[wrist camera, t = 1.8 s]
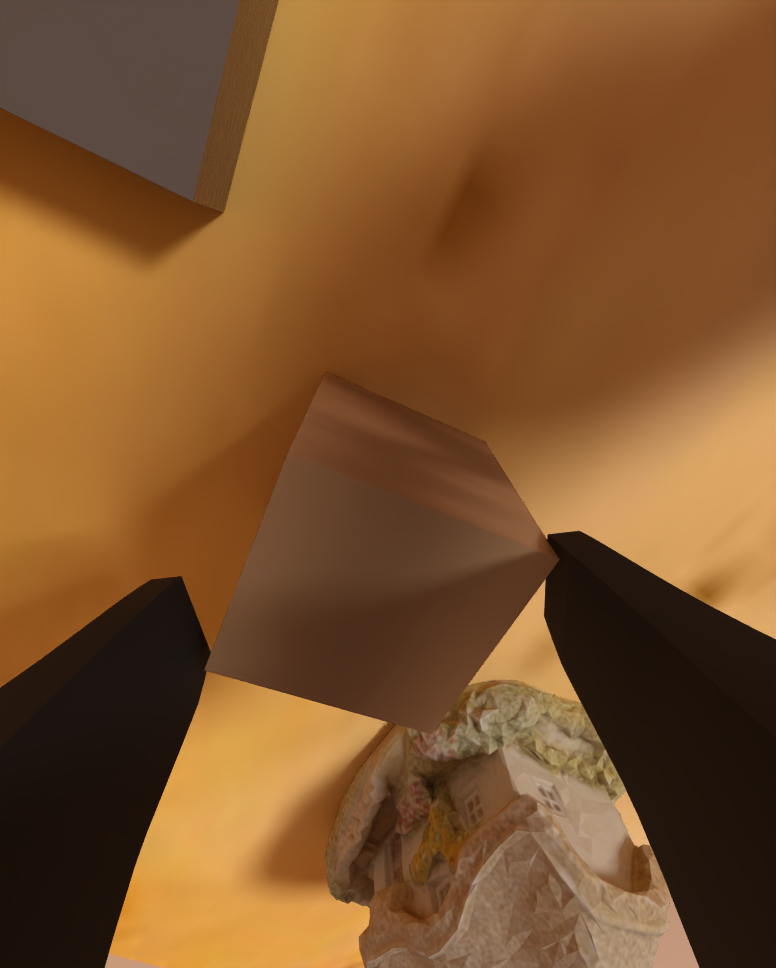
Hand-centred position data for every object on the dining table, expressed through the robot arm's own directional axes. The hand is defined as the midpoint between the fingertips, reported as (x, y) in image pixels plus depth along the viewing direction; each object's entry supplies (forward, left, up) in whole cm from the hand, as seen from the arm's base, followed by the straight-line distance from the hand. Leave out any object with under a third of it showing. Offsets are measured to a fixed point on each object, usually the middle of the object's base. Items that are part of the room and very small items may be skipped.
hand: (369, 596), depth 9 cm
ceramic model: (-10, +12, -6) cm, 17 cm away
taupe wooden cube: (0, 0, -5) cm, 5 cm away
